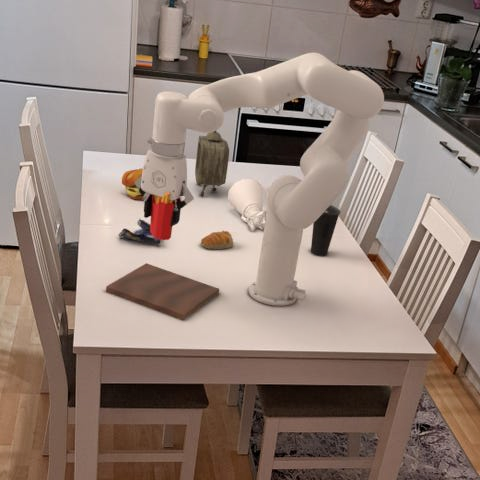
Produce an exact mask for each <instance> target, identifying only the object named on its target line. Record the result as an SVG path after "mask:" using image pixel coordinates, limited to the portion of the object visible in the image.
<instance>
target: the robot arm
mask: <svg viewBox="0 0 480 480" xmlns="http://www.w3.org/2000/svg"><path fill="white" fill-rule="evenodd" d="M304 96H309V97H311V98H312V99H314V100H316V101H318V102H320V103H321V104H324V105H326V106H328V107H331V108H332V109H334V110H336V111H335V114H334V116H333V118H332V120H331V121H330V123H329V124H328V126H327V127H326V128H325V129H324V130H323V131H322V132H321V134H319V136H318V137H317V138H316V139H315V140H314V142H312V144H311V145H310V146H308V148H306V150H305V151H304V152H303V155H302V156H301V157H300V161H299V168H300V171H301V173H302V175H303V176H304V177H303V178H302V179H300V178H299V177H297V176H295V175H289V174H285V175H282V176H278V177H277V178H275V179H274V181H273V182H271V185H270V186H269V189H268V190H267V191H268V192H267V196H266V209H265V219H266V222H265V225H264V230H263V236H262V242H261V248H260V255H259V260H258V267H257V274H256V281H254V282H252V283H251V284H250V285H249V286H248V294H249V296H250V297H251V298H252V299H253V300H255V301H256V302H259V303H261V304H264V305H269V306H275V307H277V306H278V307H282V306H283V307H284V306H289V305H292V304H294V303H296V301H297V300H298V301H301V302H306V300H307V297H308V295H307V294H306V293H307V290H305V289H303V288H299V287H298V281H297V280H295V277H296V271H297V266H298V259H299V255H300V248H301V244H302V240H303V233H304V230H305V229H308V228H309V227H310V226H311V225H312V226H313V223H314V222H315V221H316V220H317V219H318V218H319V217H320V216H321V215H322V214H323V213H324V211H325V210H326V209H327V208H328V207H329V206H330V205H332V204H333V203H334V202H335V201H336V200H337V198H339V196H340V195H341V194H342V193H343V191H344V190H345V189H346V186H347V185H348V182H349V179H350V169H349V166H348V164H347V160H348V159H349V158H350V156H351V155H352V154H353V152H354V151H356V149H357V148H358V146H359V145H360V144H361V143H362V141H363V140H364V138H365V136H366V134H367V132H368V131H369V126H370V121H371V118H373V117H375V116H376V115H378V114H379V113H380V111H381V110H382V109H383V106H384V104H385V103H384V102H385V94H384V92H383V89H382V87H381V86H380V85H379V84H378V83H377V82H375V81H374V80H373V79H371V78H370V77H369V76H368V75H367V74H365V73H363V72H361V71H359V70H355V69H351V70H347V69H345V68H343V67H341V66H339V65H338V64H336V63H334V62H333V61H331V60H330V59H328V57H326V56H325V55H323V54H322V53H319V52H307V53H305V54H301V55H298V56H296V57H293V58H291V59H288V60H285V61H283V62H280V63H278V64H275V65H273V66H269V67H267V68H264V69H261V70H258V71H255V72H250V73H249V72H248V73H244V74H240V75H234V76H231V77H226V78H222V79H219V80H217V81H214V82H212V83H208V84H206V85H204V86H201V87H199V88H196V89H195V90H193V91H192V92H191V93H190V94H189V95H188V96H187V95H185V94H183V93H181V92H177V91H171V90H170V91H169V90H168V91H167V90H166V91H161V92H158V93H157V95H156V97H155V101H154V102H155V103H154V114H153V123H152V124H153V125H152V136H151V137H148V138H147V143H148V144H150V148H149V149H148V150H147V152H146V155H145V159H144V163H143V167H142V169H143V172H142V176H141V177H140V178H139V179H137V180H136V181H135V184H136V186H137V188H138V189H139V192H140V194H141V195H142V197H143V200H142V201H143V204H144V205H143V218H145V219H147V218H151V208H152V195H155V196H159V197H162V198H163V194H165V195H166V193H167V192H170V197H169V200H173V202H172V204H173V203H174V208H173V213H172V219H171V224H170V226H172V227H173V226H176V225H177V224H179V222H180V220H181V219H180V218H181V211H182V209H183V208H184V207H185V206H187V205H188V204H190V203H191V202H192V201H194V200H195V197H194V196H193V194H192V192H191V191H190V189H189V188H188V186H187V185H188V184H187V183H188V163H187V162H188V161H187V156H186V155H185V147H186V137H187V130H191V131H195V132H199V133H205V134H208V133H210V132H214V131H216V132H217V131H218V130H219V129H220V128H221V127H222V125H223V124H224V120H225V114H224V113H226V112H230V111H232V110H235V109H239V108H240V109H241V108H256V109H272V108H275V107H278V106H281V105H283V104H285V103H287V102H291V101H293V100H296V99H299V98H302V97H304ZM182 197H184V199H183V200H182Z"/></svg>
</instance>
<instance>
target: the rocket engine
mask: <svg viewBox="0 0 480 480" xmlns="http://www.w3.org/2000/svg"><path fill="white" fill-rule="evenodd" d="M227 200H228V202H229V204H230V205H231V206H232V208H233V209H234V210H235V211H236V212H237V213H239V214H240V215H241V217H240V219H241V220H242V221H243V222H245V223H247V225H248V227H249V230H250V231H251V232H255V231H256V230H257V229H259V230H263V226H265V222H266V214H265V212H264V211H263V207H264V188H263V186H262V184H261V183H260V182H259V181H258V180H256V179H253V178H243V179H240V180H238V181H236V182H235V183H234V184H233V185H231V187H230V188H229V190H228V193H227ZM262 225H263V226H262Z"/></svg>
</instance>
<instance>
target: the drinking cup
mask: <svg viewBox="0 0 480 480" xmlns="http://www.w3.org/2000/svg"><path fill="white" fill-rule="evenodd" d="M340 215H341V210H340V209H339V208H338V207H336V206H335V205H332V204H331V205H330V206H329V207H328V208H327V209H326V210H325V211H324V213H323V214H322V215H321V216H320V217H319V218H318V219H317V220H316V221H315V222H314V223H313V224H312V234H311V235H312V236H311V243H310V244H311V245H310V253H311V254H313V255H314V256H316V257H317V256H318V257H325V256H327V255H328V252H329V249H330V245H331V242H332V240H333V235H334V233H335V230H336V225H337V224H338V223H337V222H338V220H339V216H340Z"/></svg>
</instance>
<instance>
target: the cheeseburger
mask: <svg viewBox="0 0 480 480" xmlns="http://www.w3.org/2000/svg"><path fill="white" fill-rule="evenodd" d="M142 172H143V167H141V168H138V169H130V170H127V171H125V172H124V173H123V174H122V177H121V184H122V185H123V186H125V189H126V193H127V196H128V197H129V198H131V199H134V200H139V201H143V197H142V195H141V194H140V192H139V189H138V188H137V186H136V184H135V181H136V180H137V179H139V178H140V177H141V176H142Z"/></svg>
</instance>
